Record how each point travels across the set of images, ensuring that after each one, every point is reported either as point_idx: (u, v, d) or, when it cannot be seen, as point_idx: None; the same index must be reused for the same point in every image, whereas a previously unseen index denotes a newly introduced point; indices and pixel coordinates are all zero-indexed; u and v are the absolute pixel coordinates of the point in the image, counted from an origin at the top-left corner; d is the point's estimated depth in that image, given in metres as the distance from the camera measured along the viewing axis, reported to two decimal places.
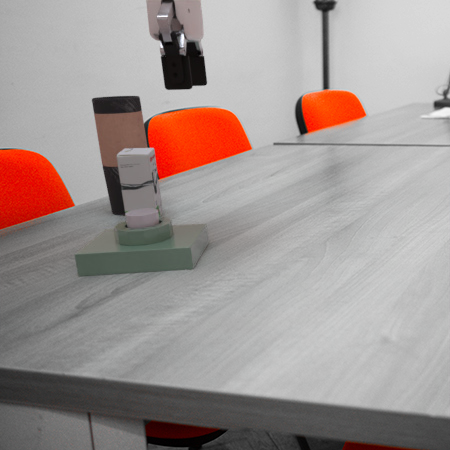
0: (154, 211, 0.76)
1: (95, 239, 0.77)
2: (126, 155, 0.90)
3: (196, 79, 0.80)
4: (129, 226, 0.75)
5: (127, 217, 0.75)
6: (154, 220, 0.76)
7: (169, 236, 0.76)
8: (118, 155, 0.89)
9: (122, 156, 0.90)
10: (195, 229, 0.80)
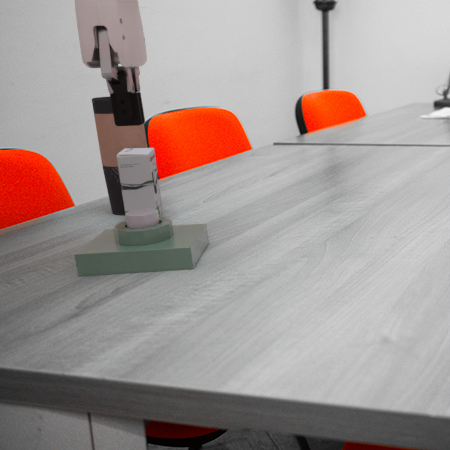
0: (154, 211, 0.76)
1: (95, 239, 0.77)
2: (126, 155, 0.90)
3: None
4: (129, 226, 0.75)
5: (127, 217, 0.75)
6: (154, 220, 0.76)
7: (169, 236, 0.76)
8: (118, 155, 0.90)
9: (122, 156, 0.90)
10: (195, 229, 0.80)
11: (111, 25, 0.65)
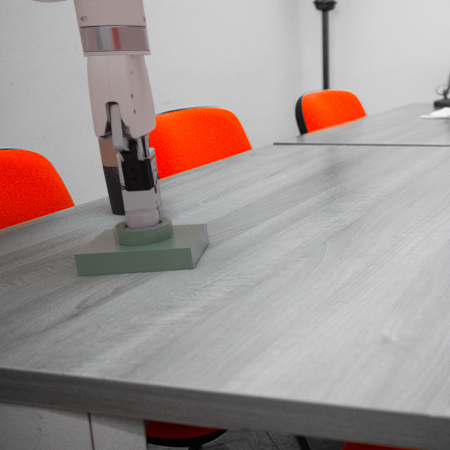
0: (154, 211, 0.76)
1: (95, 239, 0.77)
2: None
3: None
4: (129, 226, 0.75)
5: (127, 217, 0.75)
6: (154, 220, 0.76)
7: (169, 236, 0.76)
8: (118, 155, 0.90)
9: None
10: (195, 229, 0.80)
11: (123, 101, 0.67)
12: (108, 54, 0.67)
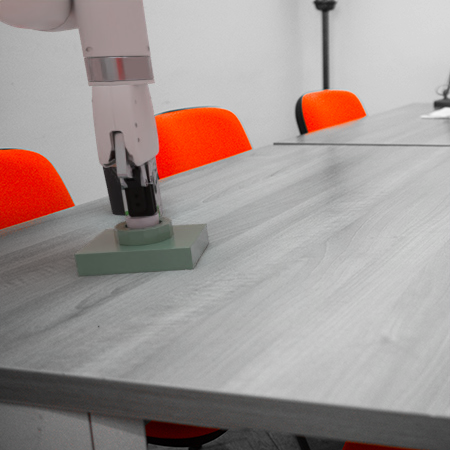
0: (154, 214, 0.76)
1: (95, 239, 0.77)
2: None
3: None
4: None
5: (128, 220, 0.75)
6: (154, 223, 0.76)
7: (169, 236, 0.76)
8: None
9: None
10: (195, 229, 0.80)
11: (127, 130, 0.68)
12: (113, 84, 0.68)
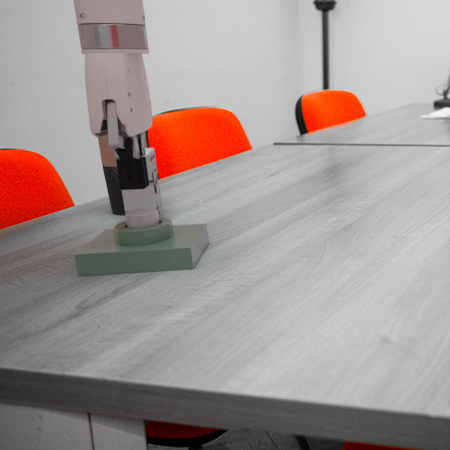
0: (154, 211, 0.76)
1: (95, 239, 0.77)
2: None
3: None
4: (129, 226, 0.75)
5: (127, 217, 0.75)
6: (154, 220, 0.76)
7: (169, 236, 0.76)
8: None
9: None
10: (195, 229, 0.80)
11: (119, 99, 0.67)
12: (106, 52, 0.67)
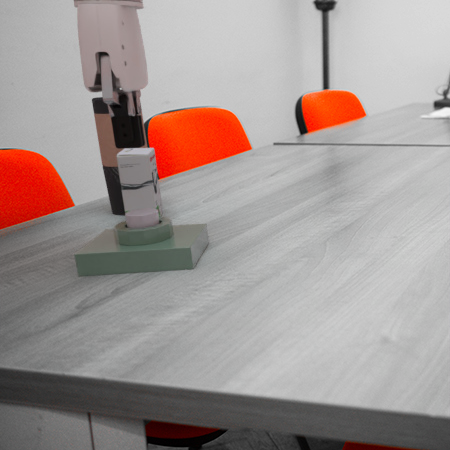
0: (154, 211, 0.76)
1: (95, 239, 0.77)
2: (126, 155, 0.90)
3: None
4: (129, 226, 0.75)
5: (127, 217, 0.75)
6: (154, 220, 0.76)
7: (169, 236, 0.76)
8: (118, 155, 0.90)
9: (122, 156, 0.90)
10: (195, 229, 0.80)
11: (113, 51, 0.66)
12: (99, 3, 0.65)
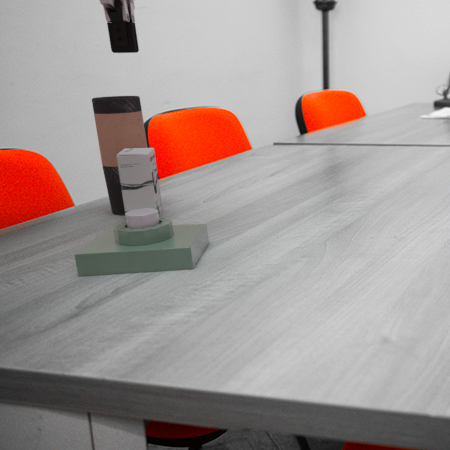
0: (154, 211, 0.76)
1: (95, 239, 0.77)
2: (126, 155, 0.90)
3: None
4: (129, 226, 0.75)
5: (127, 217, 0.75)
6: (154, 220, 0.76)
7: (169, 236, 0.76)
8: (118, 155, 0.90)
9: (122, 156, 0.90)
10: (195, 229, 0.80)
11: None
12: None
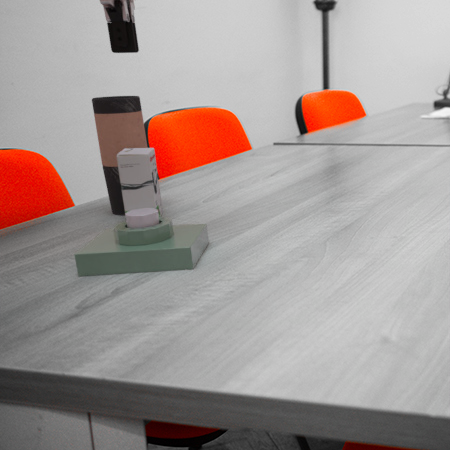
0: (154, 211, 0.76)
1: (95, 239, 0.77)
2: (126, 155, 0.90)
3: None
4: (129, 226, 0.75)
5: (127, 217, 0.75)
6: (154, 220, 0.76)
7: (169, 236, 0.76)
8: (118, 155, 0.90)
9: (122, 156, 0.90)
10: (195, 229, 0.80)
11: None
12: None
